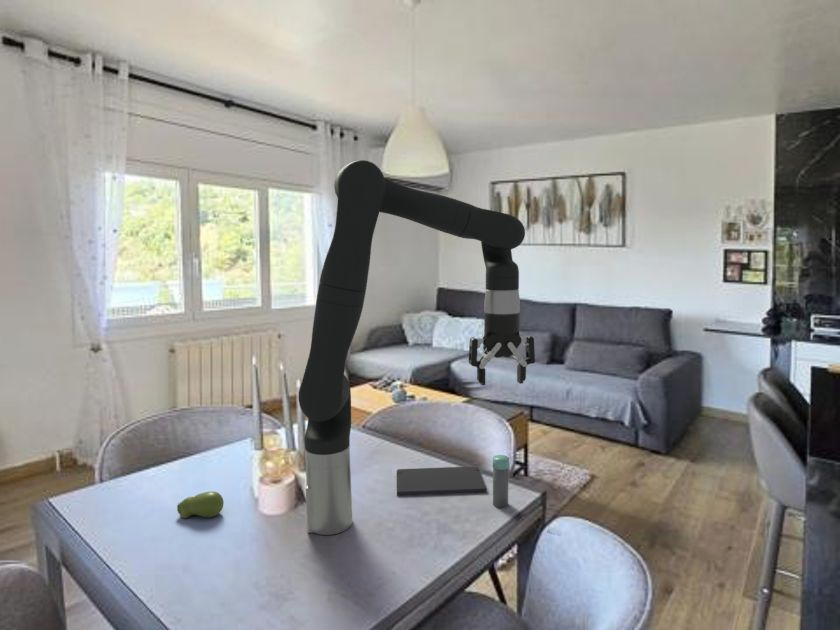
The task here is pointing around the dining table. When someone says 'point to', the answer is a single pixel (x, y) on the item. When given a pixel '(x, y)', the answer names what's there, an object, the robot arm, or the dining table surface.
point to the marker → (500, 481)
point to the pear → (201, 505)
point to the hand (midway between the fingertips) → (501, 383)
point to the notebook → (439, 481)
